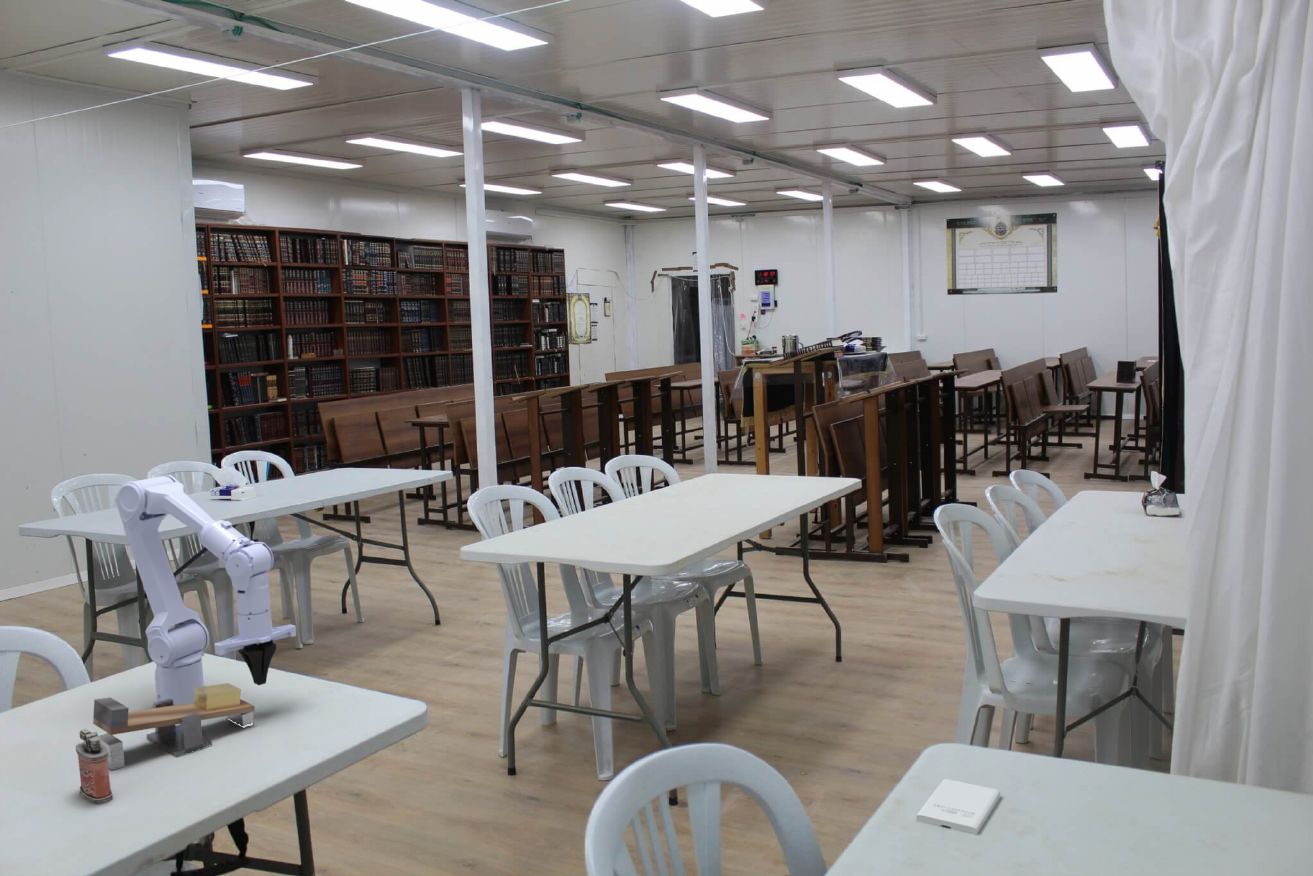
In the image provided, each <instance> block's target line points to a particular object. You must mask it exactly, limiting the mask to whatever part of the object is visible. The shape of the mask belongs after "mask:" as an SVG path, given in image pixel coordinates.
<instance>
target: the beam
mask: <svg viewBox="0 0 1313 876" xmlns="http://www.w3.org/2000/svg"><path fill="white" fill-rule="evenodd" d="M93 703H94V704H93V720H92V724H93V725H94V726H96V727H97V728H99V729H101V730H102V731H103V732H104V733H108V734H110V735H113V736H114V735H118V734H127V733H131V732H139V731H143V730H144V731H145V730H149V729H155V728H157V727H163V726H169V725H175V726H177V725H180V720H179V718H182V717H185V716H188V715H192V714H195V713H199V714H200V717H201V721H206V720H211V719H217V718H224V717H228V716H230V715H236V714H243V713H249V712H253V713H254V712H255V708H256V707H255V706H256V705H254V704H251V703H249V702H247V701H245V700H243V699H241V698H240V706H236V707H229V708H223V709H217V710H210V711H205V710H203V709H201V708H199V707H197V706H195V705H194V702H193V703H186V704H180V705H173V706H165V707H160V708H147V709H142V710H136V711H134V710H133V711H129V707H127V706H126V705H124V704H123V703H121V702H119V701H118V700H116V699H114V698H112V697H111V696H110V697H104V698H95V699H94V700H93Z"/></svg>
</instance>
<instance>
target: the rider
mask: <svg viewBox="0 0 1313 876" xmlns="http://www.w3.org/2000/svg"><path fill="white" fill-rule="evenodd" d="M241 691H242V688H239V687H237V686H235V685H233V684H231V683H229V682H228V683H222V684H221V683H220V684H213V685H212V684H211V685H206V686H205V685H204V687H198V688H195V694H194V705H195V706H197V707H199V708H201V709H203V710H205V711H210V710H217V709H223V708H229V707H236V706H240V699H241Z"/></svg>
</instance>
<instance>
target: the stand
mask: <svg viewBox="0 0 1313 876" xmlns="http://www.w3.org/2000/svg"><path fill="white" fill-rule="evenodd" d="M155 702H156V703H155ZM155 702H152V703H153V706H152V707H153V708H160V707H165V706H173V705H174V704H173V700H172V699H167V700H163V701H160V702H157V701H155ZM153 708H152V709H153ZM228 719H230V720H232V721H233V722H236V723H237V724H240V725H241V726H245V725H247V724H251V723H252V722H254V723H255V721H254V712H249V713H243V714H236V715H230V716H227V720H228ZM179 720H180V724H176V725H169V726H163V727H157V728H154V730H155V731H154V732H153V731H152V732H150V733H146V739H147V740H148V741H149V742H151V743H153V744H154V745H156V746H157V747H159V748H161V749H162V750H165V752H167V753H169V754H170V753H171V754H170V755H172V754H173V755H172V756H174V757H175V756H176V757H175V758H178V757H181V755H182V756H184V755H183V754H185V755H187V754H186V753H188V754H190V752H191V753H193V752H192V751H194V752H196V750H197V751H199V750H198V749H200V750H202V748H203V749H205V748H204V747H206V748H208V747H207V746H209V745H212V746H213V741H212V740H211V739H208V738H207V737H205V736H203V731H202V720H201V717H200V714H199V713H195V714H192V715H188V716H185V717H182V718H179ZM98 736H99V738H100V742H101V744H102V745H104V746H105V747H106V748H107V750H108V754H109V757H108V758H107V759H108V769H109V770H111V771H113V770H116V769H120V768H124V767H125V755H124V744H123V740H121V739H119V738H117V737H116V736H114V735H110V734H108V733H107V732H105V733H104V734H100V735H98ZM209 747H210V746H209ZM177 756H178V757H177Z"/></svg>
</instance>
